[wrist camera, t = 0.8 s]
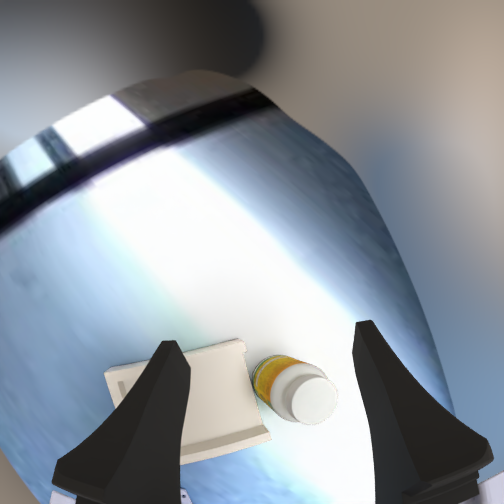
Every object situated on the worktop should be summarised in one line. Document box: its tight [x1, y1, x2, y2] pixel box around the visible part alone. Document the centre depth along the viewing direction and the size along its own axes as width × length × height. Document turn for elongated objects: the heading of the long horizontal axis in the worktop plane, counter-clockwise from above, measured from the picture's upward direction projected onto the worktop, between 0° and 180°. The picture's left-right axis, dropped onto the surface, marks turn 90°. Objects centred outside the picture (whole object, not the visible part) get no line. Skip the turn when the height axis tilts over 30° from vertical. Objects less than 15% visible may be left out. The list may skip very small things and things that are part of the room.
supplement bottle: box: [252, 355, 338, 425], centre depth 25 cm, size 5×5×10 cm
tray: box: [104, 339, 272, 465], centre depth 25 cm, size 11×13×3 cm
